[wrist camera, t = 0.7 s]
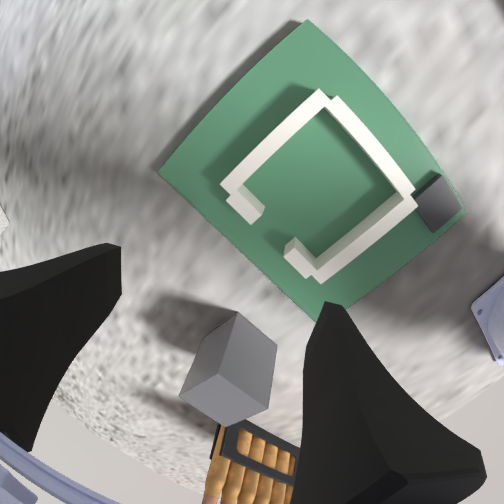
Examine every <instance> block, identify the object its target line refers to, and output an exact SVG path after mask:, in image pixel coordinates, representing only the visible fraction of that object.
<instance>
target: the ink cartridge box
mask: <svg viewBox="0 0 504 504" xmlns="http://www.w3.org/2000/svg"><path fill="white" fill-rule="evenodd" d="M8 224H9V220H8V219H7V217H6V215H5V213H4V211H3V209H2V207H1V205H0V235H1V233H2V232H3V231H4V230H5V228H6V227H7V226H8Z"/></svg>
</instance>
